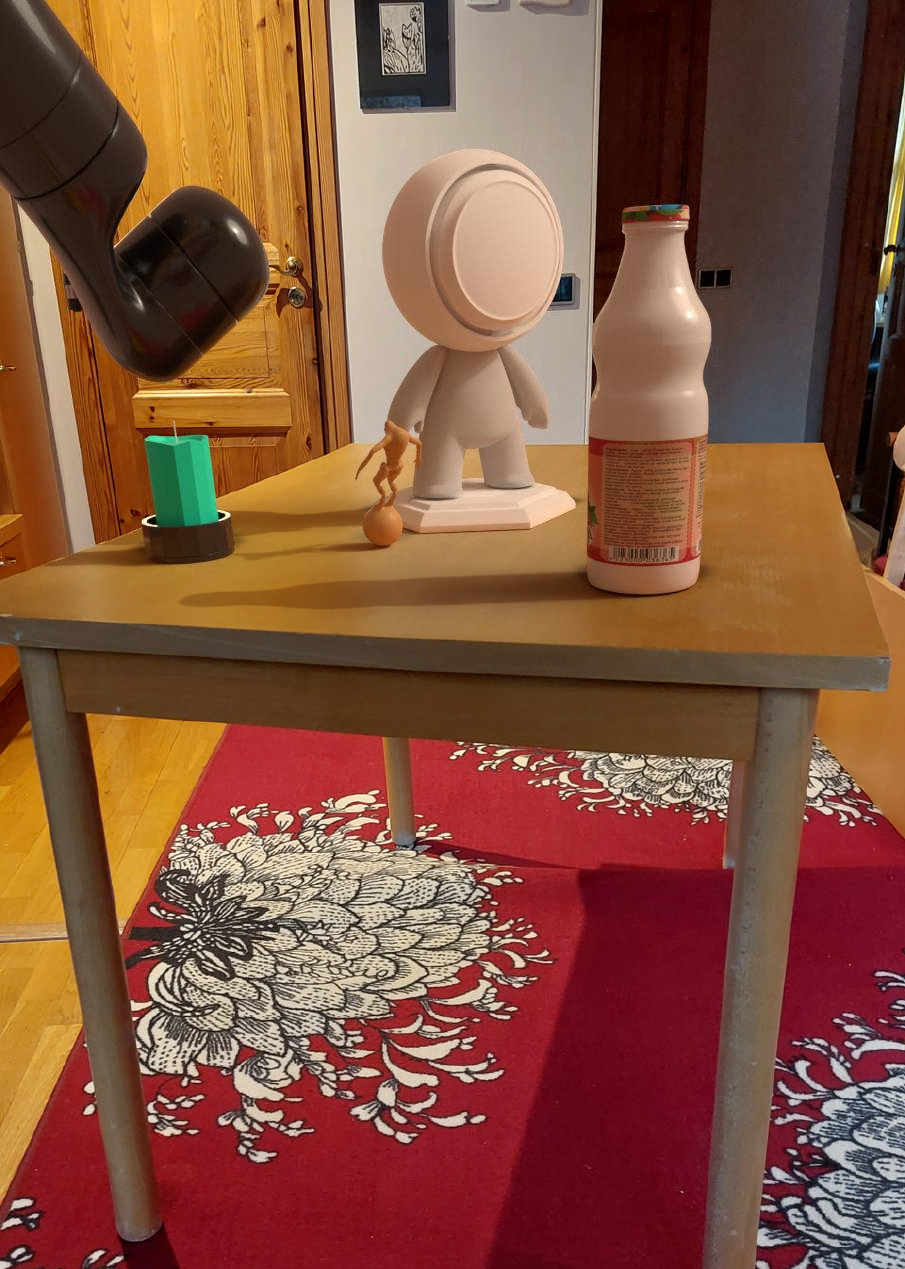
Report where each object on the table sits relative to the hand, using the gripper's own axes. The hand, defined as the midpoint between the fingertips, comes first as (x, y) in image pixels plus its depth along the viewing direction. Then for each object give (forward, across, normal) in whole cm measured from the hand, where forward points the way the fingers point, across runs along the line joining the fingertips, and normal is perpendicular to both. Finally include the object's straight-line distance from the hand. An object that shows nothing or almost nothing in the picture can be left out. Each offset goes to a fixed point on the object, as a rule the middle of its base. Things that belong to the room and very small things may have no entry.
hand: (158, 288), depth 90 cm
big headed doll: (+18, +31, -24) cm, 44 cm away
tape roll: (+11, 0, -24) cm, 26 cm away
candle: (+11, 0, -24) cm, 26 cm away
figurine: (+5, +19, -24) cm, 31 cm away
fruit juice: (-17, +36, -24) cm, 47 cm away
